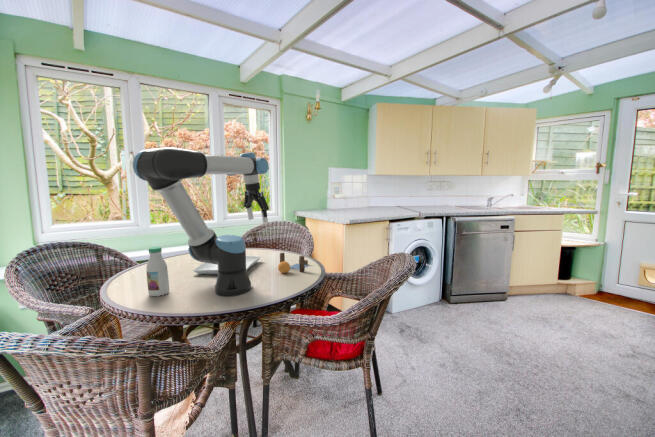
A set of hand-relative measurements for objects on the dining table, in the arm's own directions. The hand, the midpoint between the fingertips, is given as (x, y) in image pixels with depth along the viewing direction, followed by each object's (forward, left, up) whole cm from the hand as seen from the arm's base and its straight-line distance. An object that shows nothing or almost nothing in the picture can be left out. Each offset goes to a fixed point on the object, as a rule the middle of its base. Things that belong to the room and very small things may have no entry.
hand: (258, 221), depth 160 cm
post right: (+3, -27, -25) cm, 37 cm away
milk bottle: (-51, +8, -25) cm, 58 cm away
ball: (-4, -21, -22) cm, 30 cm away
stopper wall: (+13, -21, -25) cm, 35 cm away
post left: (+3, -14, -25) cm, 29 cm away
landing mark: (+8, -21, -25) cm, 33 cm away
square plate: (-12, +10, -26) cm, 30 cm away
